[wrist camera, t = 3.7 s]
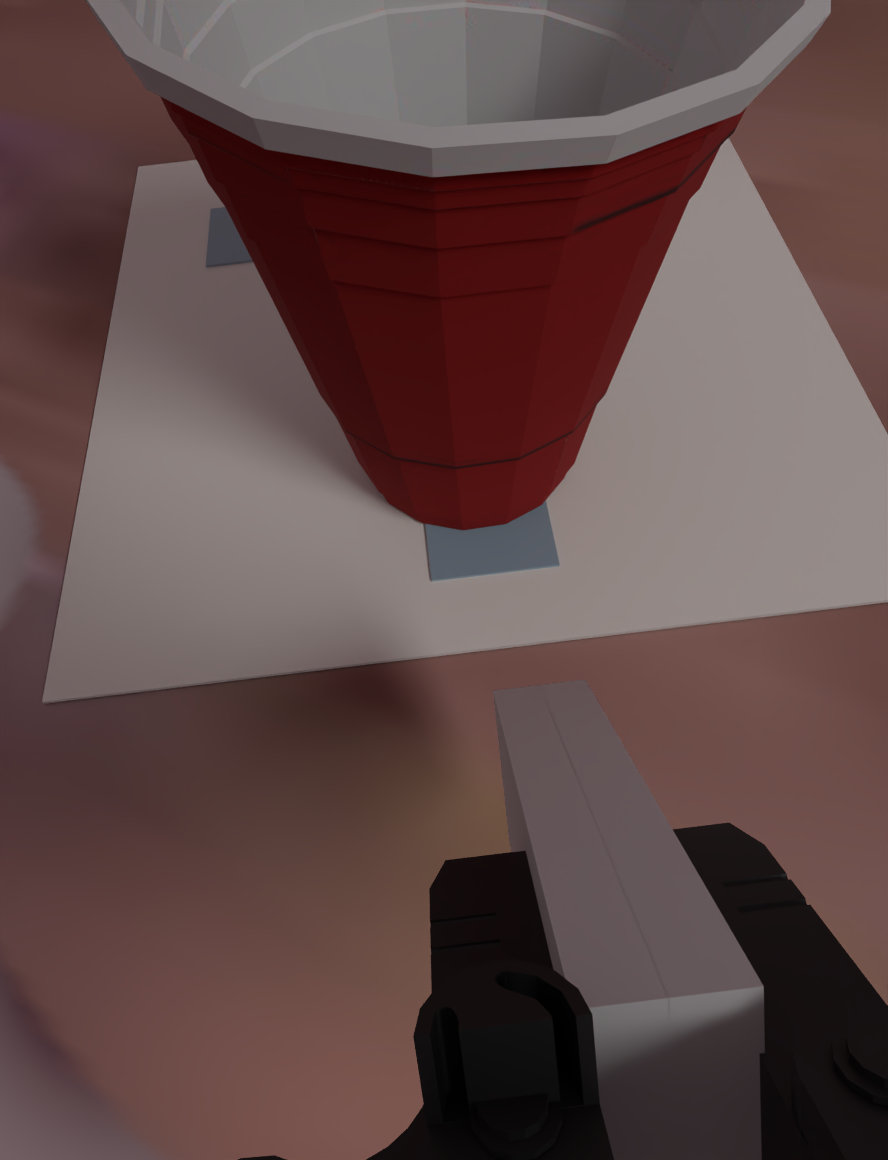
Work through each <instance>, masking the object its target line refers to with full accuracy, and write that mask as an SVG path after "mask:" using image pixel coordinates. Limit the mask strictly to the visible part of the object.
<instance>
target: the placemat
mask: <svg viewBox="0 0 888 1160" xmlns="http://www.w3.org/2000/svg"><path fill="white" fill-rule="evenodd" d="M884 602H888V434H887V432H886V430H885V429H884V427H883V425H882V423H881V421H880V419H879V417H878V416H877V414H876V412H875V410H874V408H873V406H872V404H871V403H870V401H869V399H868V397H867V395H866V393H865V391H864V389H863V388H862V386H861V384H860V382H859V380H858V378H857V376H856V375H855V373H854V371H853V369H852V367H851V365H850V363H849V362H848V360H847V358H846V356H845V354H844V352H843V350H842V348H841V347H840V345H839V343H838V341H837V339H836V337H835V335H834V334H833V332H832V330H831V328H830V326H829V324H828V322H827V321H826V319H825V317H824V315H823V313H822V311H821V309H820V307H819V306H818V304H817V302H816V300H815V298H814V296H813V294H812V293H811V291H810V289H809V287H808V285H807V283H806V281H805V280H804V278H803V276H802V274H801V272H800V270H799V268H798V266H797V265H796V263H795V261H794V259H793V257H792V255H791V253H790V252H789V250H788V248H787V246H786V244H785V242H784V240H783V238H782V237H781V235H780V233H779V231H778V229H777V227H776V225H775V224H774V222H773V220H772V218H771V216H770V214H769V212H768V211H767V209H766V207H765V205H764V203H763V201H762V199H761V197H760V196H759V194H758V192H757V190H756V188H755V186H754V184H753V183H752V181H751V179H750V177H749V175H748V173H747V171H746V170H745V168H744V166H743V164H742V162H741V160H740V158H739V156H738V155H737V153H736V151H735V149H734V147H733V145H732V143H731V142H730V140H729V138H728V139H727V140H726V141H725V142H724V143H723V144H722V145H721V146H720V149H719V151H718V153H717V155H716V157H715V159H714V161H713V163H712V165H711V167H710V169H709V171H708V173H707V175H706V177H705V179H704V181H703V184H702V186H701V188H700V189H699V190H698V191H697V192H696V193H695V194H694V195H693V196H692V198H691V199H690V200H689V202H688V204H687V207H686V209H685V211H684V213H683V216H682V218H681V220H680V223H679V225H678V227H677V230H676V232H675V234H674V237H673V239H672V241H671V244H670V246H669V248H668V251H667V253H666V255H665V258H664V260H663V262H662V265H661V267H660V269H659V271H658V274H657V276H656V278H655V281H654V283H653V285H652V288H651V290H650V292H649V295H648V297H647V299H646V302H645V304H644V306H643V309H642V311H641V313H640V316H639V318H638V320H637V323H636V325H635V327H634V330H633V332H632V334H631V336H630V339H629V341H628V343H627V346H626V348H625V350H624V353H623V355H622V357H621V360H620V362H619V364H618V367H617V369H616V371H615V374H614V376H613V378H612V381H611V383H610V385H609V388H608V390H607V392H606V394H605V396H604V397H603V398H602V399H601V400H600V402H599V403H598V404H597V406H596V408H595V411H594V413H593V416H592V419H591V421H590V424H589V427H588V429H587V432H586V434H585V437H584V440H583V442H582V445H581V448H580V450H579V453H578V455H577V458H576V461H575V463H574V465H573V466H572V467H571V468H570V470H569V471H568V472H567V473H566V476H565V478H564V479H563V480H562V481H561V483H560V484H559V485H558V486H557V487H556V489H555V490H554V491H553V492H552V493H551V495H550V496H549V497H548V498H547V499H546V501H545V502H544V503H543V504H542V505H541V506H539V507H537V508H535V509H534V510H532V511H530V512H528V513H526V514H524V515H522V516H520V517H518V518H516V519H515V520H513V521H511V522H509V523H507V524H503V525H497V526H490V527H483V528H476V529H470V530H458V529H452V528H447V527H441V526H436V525H430V524H425V523H421V522H419V521H417V520H416V519H414V518H412V517H411V516H409V515H407V514H406V513H404V512H402V511H401V510H399V509H397V508H396V507H394V506H392V505H391V504H389V503H388V502H387V500H386V499H385V497H384V496H383V494H381V493H379V491H378V490H377V488H376V487H375V485H374V484H373V483H372V481H371V480H370V478H369V477H368V475H367V474H366V472H365V471H364V470H363V468H362V467H361V465H360V464H359V462H358V460H357V458H356V456H355V454H354V452H353V450H352V448H351V446H350V444H349V442H348V440H347V438H346V436H345V434H344V432H343V430H342V428H341V426H340V424H339V422H338V420H337V418H336V417H335V415H334V414H333V412H332V411H331V409H330V408H329V407H328V405H327V404H326V402H325V401H324V399H323V398H322V397H321V395H320V394H319V392H318V390H317V388H316V386H315V384H314V382H313V380H312V378H311V376H310V374H309V372H308V370H307V368H306V366H305V364H304V362H303V360H302V358H301V356H300V354H299V352H298V350H297V348H296V346H295V344H294V342H293V340H292V338H291V336H290V334H289V332H288V330H287V328H286V326H285V324H284V322H283V320H282V318H281V316H280V314H279V312H278V310H277V308H276V306H275V304H274V302H273V300H272V298H271V296H270V294H269V292H268V290H267V288H266V286H265V284H264V282H263V281H262V279H261V277H260V275H259V273H258V271H257V269H256V267H255V265H254V263H253V261H252V259H251V257H250V255H249V253H248V251H247V249H246V247H245V245H244V243H243V241H242V239H241V237H240V235H239V233H238V231H237V229H236V227H235V225H234V223H233V221H232V219H231V217H230V215H229V213H228V211H227V209H226V207H225V206H224V204H223V203H222V202H221V200H220V199H219V197H218V196H217V195H216V193H215V192H214V191H213V189H212V188H211V186H210V185H209V184H208V182H207V180H206V178H205V176H204V174H203V172H202V170H201V168H200V166H199V163H198V161H197V160H191V161H183V162H174V163H166V164H157V165H149V166H140V167H138V172H137V177H136V183H135V188H134V194H133V199H132V205H131V210H130V216H129V222H128V227H127V233H126V238H125V244H124V249H123V255H122V260H121V266H120V271H119V277H118V283H117V288H116V294H115V299H114V305H113V310H112V316H111V321H110V327H109V333H108V338H107V344H106V349H105V355H104V360H103V366H102V371H101V377H100V382H99V388H98V394H97V399H96V405H95V410H94V416H93V421H92V427H91V432H90V438H89V444H88V449H87V455H86V460H85V466H84V471H83V477H82V482H81V488H80V493H79V499H78V505H77V510H76V516H75V521H74V527H73V532H72V538H71V543H70V549H69V555H68V560H67V566H66V571H65V577H64V582H63V588H62V593H61V599H60V604H59V610H58V616H57V621H56V627H55V632H54V638H53V643H52V649H51V654H50V660H49V666H48V671H47V677H46V682H45V688H44V693H43V699H42V702H43V703H44V704H45V703H53V702H61V701H70V700H78V699H86V698H95V697H103V696H111V695H120V694H128V693H136V692H144V691H153V690H161V689H169V688H178V687H186V686H194V685H203V684H211V683H219V682H228V681H236V680H244V679H252V678H261V677H269V676H277V675H286V674H294V673H302V672H311V671H319V670H327V669H336V668H344V667H352V666H361V665H369V664H377V663H385V662H394V661H402V660H410V659H419V658H427V657H435V656H444V655H452V654H460V653H469V652H477V651H485V650H494V649H502V648H510V647H518V646H527V645H535V644H543V643H552V642H560V641H568V640H577V639H585V638H593V637H602V636H610V635H618V634H627V633H635V632H643V631H651V630H660V629H668V628H676V627H685V626H693V625H701V624H710V623H718V622H726V621H735V620H743V619H751V618H760V617H768V616H776V615H784V614H793V613H801V612H809V611H818V610H826V609H834V608H843V607H851V606H859V605H868V604H876V603H884Z"/></svg>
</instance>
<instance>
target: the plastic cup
mask: <svg viewBox="0 0 888 1160" xmlns="http://www.w3.org/2000/svg"><path fill="white" fill-rule="evenodd" d="M85 1H86V2H87V4H88V5H89V7H90V9H91V10H92V12H93V14H94V15H95V17H96V18H97V20H98V21H99V23H100V24H101V25H102V27H103V28H104V30H105V31H106V33H107V34H108V35H109V37H110V38H111V40H112V41H113V42H114V44H115V45H116V47H117V48H118V50H119V51H120V52H121V54H122V55H123V57H124V58H125V59H126V61H127V62H128V64H129V65H130V67H131V68H132V69H133V71H134V72H135V74H136V75H137V76H138V78H139V79H140V81H141V82H142V84H143V85H144V86H145V88H146V89H147V90H149V91H151V92H152V93H154V94H156V95H158V96H160V97H161V98H162V101H163V103H164V105H165V107H166V109H167V111H168V113H169V115H170V117H171V119H172V121H173V122H174V124H175V125H176V126H177V128H178V129H179V131H180V132H181V133H182V135H183V136H184V137H185V139H186V140H187V142H188V143H189V144H190V147H191V149H192V151H193V153H194V155H195V157H196V159H197V161H198V163H199V166H200V168H201V170H202V172H203V174H204V176H205V178H206V180H207V182H208V184H209V185H210V186H211V188H212V189H213V191H214V192H215V193H216V195H217V196H218V197H219V199H220V200H221V202H222V203H223V204H224V206H225V207H226V209H227V211H228V213H229V215H230V217H231V219H232V221H233V223H234V225H235V227H236V229H237V231H238V233H239V235H240V237H241V239H242V241H243V243H244V245H245V247H246V249H247V251H248V253H249V255H250V257H251V259H252V261H253V263H254V265H255V267H256V269H257V271H258V273H259V275H260V277H261V279H262V281H263V282H264V284H265V286H266V288H267V290H268V292H269V294H270V296H271V298H272V300H273V302H274V304H275V306H276V308H277V310H278V312H279V314H280V316H281V318H282V320H283V322H284V324H285V326H286V328H287V330H288V332H289V334H290V336H291V338H292V340H293V342H294V344H295V346H296V348H297V350H298V352H299V354H300V356H301V358H302V360H303V362H304V364H305V366H306V368H307V370H308V372H309V374H310V376H311V378H312V380H313V382H314V384H315V386H316V388H317V390H318V392H319V394H320V395H321V397H322V398H323V399H324V401H325V402H326V404H327V405H328V407H329V408H330V409H331V411H332V412H333V414H334V415H335V417H336V418H337V420H338V422H339V424H340V426H341V428H342V430H343V432H344V434H345V436H346V438H347V440H348V442H349V444H350V446H351V448H352V450H353V452H354V454H355V456H356V458H357V460H358V462H359V464H360V465H361V467H362V468H363V470H364V471H365V472H366V474H367V475H368V477H369V478H370V480H371V481H372V483H373V484H374V485H375V487H376V488H377V490H378V491H379V493H381V494H383V496H384V497H385V499H386V500H387V502H388V503H389V504H391V505H392V506H394V507H396V508H397V509H399V510H401V511H402V512H404V513H406V514H407V515H409V516H411V517H412V518H414V519H416V520H417V521H419V522H421V523H425V524H430V525H436V526H441V527H447V528H452V529H458V530H470V529H476V528H483V527H490V526H497V525H503V524H507V523H509V522H511V521H513V520H515V519H516V518H518V517H520V516H522V515H524V514H526V513H528V512H530V511H532V510H534V509H535V508H537V507H539V506H541V505H542V504H543V503H544V502H545V501H546V499H547V498H548V497H549V496H550V495H551V493H552V492H553V491H554V490H555V489H556V487H557V486H558V485H559V484H560V483H561V481H562V480H563V479H564V478H565V476H566V473H567V472H568V471H569V470H570V468H571V467H572V466H573V465H574V463H575V461H576V458H577V455H578V453H579V450H580V448H581V445H582V442H583V440H584V437H585V434H586V432H587V429H588V427H589V424H590V421H591V419H592V416H593V413H594V411H595V408H596V406H597V404H598V403H599V402H600V400H601V399H602V398H603V397H604V396H605V394H606V392H607V390H608V388H609V385H610V383H611V381H612V378H613V376H614V374H615V371H616V369H617V367H618V364H619V362H620V360H621V357H622V355H623V353H624V350H625V348H626V346H627V343H628V341H629V339H630V336H631V334H632V332H633V330H634V327H635V325H636V323H637V320H638V318H639V316H640V313H641V311H642V309H643V306H644V304H645V302H646V299H647V297H648V295H649V292H650V290H651V288H652V285H653V283H654V281H655V278H656V276H657V274H658V271H659V269H660V267H661V265H662V262H663V260H664V258H665V255H666V253H667V251H668V248H669V246H670V244H671V241H672V239H673V237H674V234H675V232H676V230H677V227H678V225H679V223H680V220H681V218H682V216H683V213H684V211H685V209H686V207H687V204H688V202H689V200H690V199H691V198H692V196H693V195H694V194H695V193H696V192H697V191H698V190H699V189H700V188H701V186H702V184H703V181H704V179H705V177H706V175H707V173H708V171H709V169H710V167H711V165H712V163H713V161H714V159H715V157H716V155H717V153H718V151H719V149H720V146H721V145H722V144H723V143H724V142H725V141H726V140H727V139H728V138H729V137H730V136H731V135H732V134H733V132H734V131H735V129H736V127H737V125H738V123H739V121H740V119H741V117H742V115H743V113H744V111H745V109H746V107H747V106H748V105H749V104H750V103H751V102H752V101H753V100H754V99H755V98H756V97H757V96H758V95H759V94H760V93H761V92H762V91H763V90H764V89H765V88H766V86H767V85H768V84H769V83H770V82H771V81H772V80H773V79H774V78H775V77H776V76H777V75H778V74H779V73H780V72H781V71H782V70H783V69H784V68H785V67H786V66H787V65H788V64H789V63H790V62H791V61H792V60H793V59H794V58H795V57H796V56H797V55H798V54H799V53H800V52H801V51H802V50H803V49H804V48H805V47H806V46H807V45H808V44H809V43H810V41H811V40H812V38H813V37H814V36H815V34H816V33H817V31H818V30H819V28H820V27H821V26H822V24H823V23H824V21H825V20H826V19H827V17H828V16H829V14H830V13H831V0H85Z"/></svg>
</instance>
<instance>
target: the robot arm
mask: <svg viewBox="0 0 888 1160" xmlns="http://www.w3.org/2000/svg"><path fill="white" fill-rule="evenodd" d="M493 694H494V704H495V713H496V722H497V731H498V741H499V750H500V759H501V768H502V778H503V787H504V796H505V805H506V815H507V824H508V833H509V841H510V846H511V851H512V852H510V853H502V854H494V855H485V856H477V857H469V858H461V859H453V860H446V861H445V862H444V864H443V866H442V868H441V869H440V871H439V873H438V875H437V877H436V878H435V880H434V882H433V884H432V885H431V887H430V923H431V927H430V934H431V979H432V994H431V995H430V996H429V998H428V999H427V1000H426V1002H425V1003H424V1004H423V1006H422V1007H421V1008H420V1011H419V1016H418V1020H417V1024H416V1028H415V1032H414V1043H415V1049H416V1056H417V1062H418V1069H419V1076H420V1082H421V1089H422V1095H423V1102H424V1105H423V1107H422V1109H421V1110H420V1111H419V1113H418V1114H417V1116H416V1117H415V1119H414V1120H413V1122H412V1123H411V1124H410V1126H409V1127H408V1129H406V1130H405V1131H404V1132H403V1133H402V1134H401V1135H400V1136H399V1137H398V1138H397V1139H396V1140H395V1141H394V1142H392V1143H391V1144H390V1145H389V1146H388V1147H387V1148H385V1149H383V1150H382V1151H380V1152H378V1153H377V1154H375V1155H373V1156H372V1157H370V1158H368V1159H367V1160H888V1006H887V1005H886V1003H885V1002H884V1001H883V999H882V998H881V997H880V995H879V994H878V993H877V992H876V990H875V989H874V988H873V986H872V985H871V984H870V982H869V981H868V980H867V978H866V977H865V976H864V975H863V973H862V972H861V971H860V969H859V968H858V967H857V965H856V964H855V963H854V961H853V960H852V959H851V958H850V956H849V955H848V954H847V952H846V951H845V950H844V948H843V947H842V946H841V944H840V943H839V942H838V941H837V939H836V938H835V937H834V935H833V934H832V933H831V931H830V930H829V929H828V927H827V926H826V925H825V924H824V922H823V921H822V920H821V918H820V917H819V916H818V914H817V913H816V912H815V910H814V909H813V908H812V907H811V905H807V904H806V900H805V897H804V896H803V895H802V893H801V892H800V891H799V890H798V888H797V887H796V886H795V884H794V883H793V882H792V880H788V879H787V875H786V873H785V871H784V870H783V869H782V867H781V866H780V865H779V863H778V862H777V861H776V859H775V858H774V857H773V856H772V854H771V853H770V852H769V850H768V849H767V848H766V846H765V845H764V844H762V843H761V842H759V841H757V840H756V839H754V838H753V837H751V836H750V835H748V834H746V833H745V832H743V831H742V830H740V829H738V828H737V827H735V826H734V825H732V824H730V823H723V824H714V825H706V826H698V827H690V828H682V829H673V830H672V828H671V826H670V824H669V823H668V821H667V819H666V817H665V816H664V814H663V812H662V811H661V809H660V807H659V805H658V804H657V802H656V800H655V799H654V797H653V795H652V793H651V792H650V790H649V788H648V787H647V785H646V783H645V781H644V780H643V778H642V776H641V774H640V773H639V771H638V769H637V768H636V766H635V764H634V762H633V761H632V759H631V757H630V756H629V754H628V752H627V750H626V749H625V747H624V745H623V743H622V742H621V740H620V738H619V737H618V735H617V733H616V731H615V730H614V728H613V726H612V725H611V723H610V721H609V719H608V718H607V716H606V714H605V713H604V711H603V709H602V707H601V706H600V704H599V702H598V700H597V699H596V697H595V695H594V694H593V692H592V690H591V688H590V687H589V685H588V683H587V682H586V680H578V681H569V682H561V683H553V684H545V685H536V686H528V687H520V688H512V689H504V690H495V691H493ZM238 1160H286V1159H283V1158H280V1157H277V1156H263V1157H251V1158H240V1159H238Z"/></svg>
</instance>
